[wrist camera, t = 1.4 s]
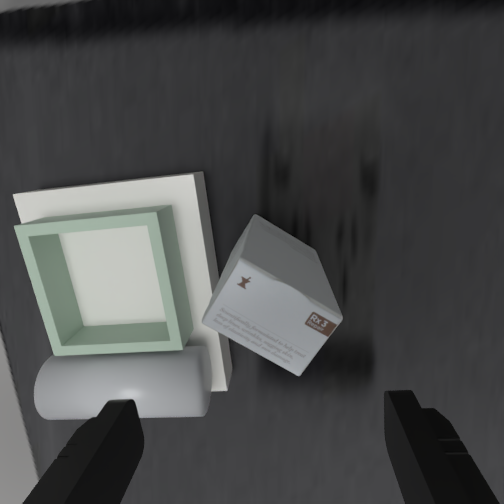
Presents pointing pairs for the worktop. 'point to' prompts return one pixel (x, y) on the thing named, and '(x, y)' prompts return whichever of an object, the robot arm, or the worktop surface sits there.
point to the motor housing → (133, 301)
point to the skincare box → (274, 297)
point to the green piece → (63, 297)
